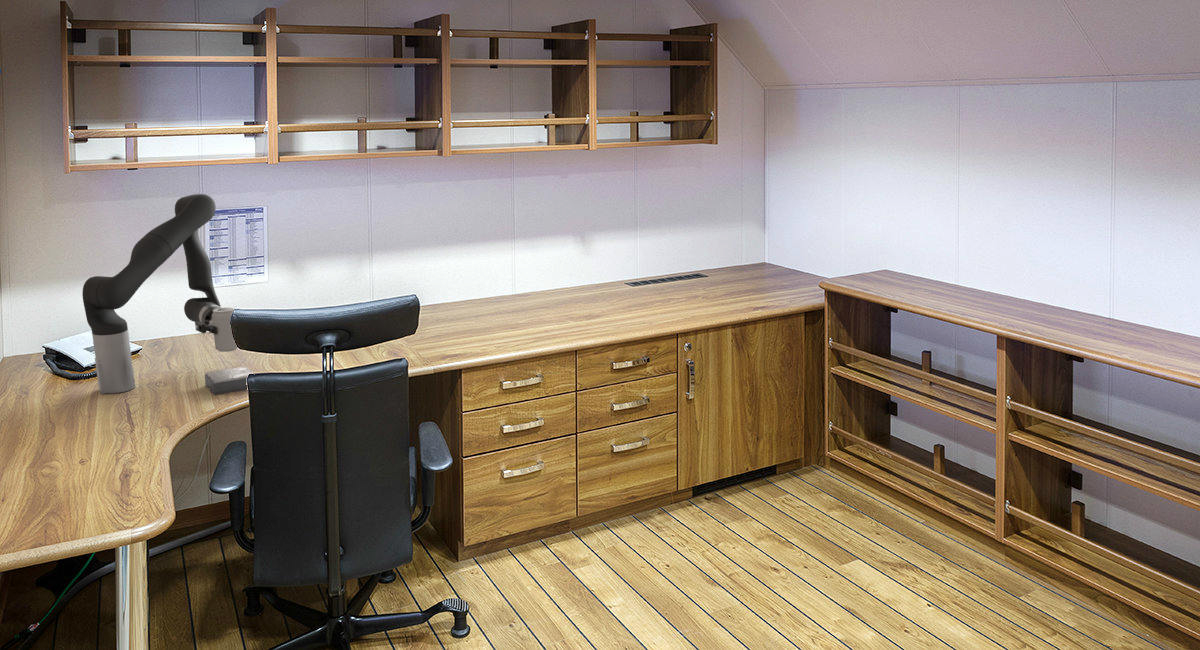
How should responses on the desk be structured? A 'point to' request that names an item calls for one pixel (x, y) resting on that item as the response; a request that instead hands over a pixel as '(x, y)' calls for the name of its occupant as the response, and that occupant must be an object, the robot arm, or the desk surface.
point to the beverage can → (223, 330)
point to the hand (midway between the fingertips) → (227, 329)
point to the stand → (227, 380)
